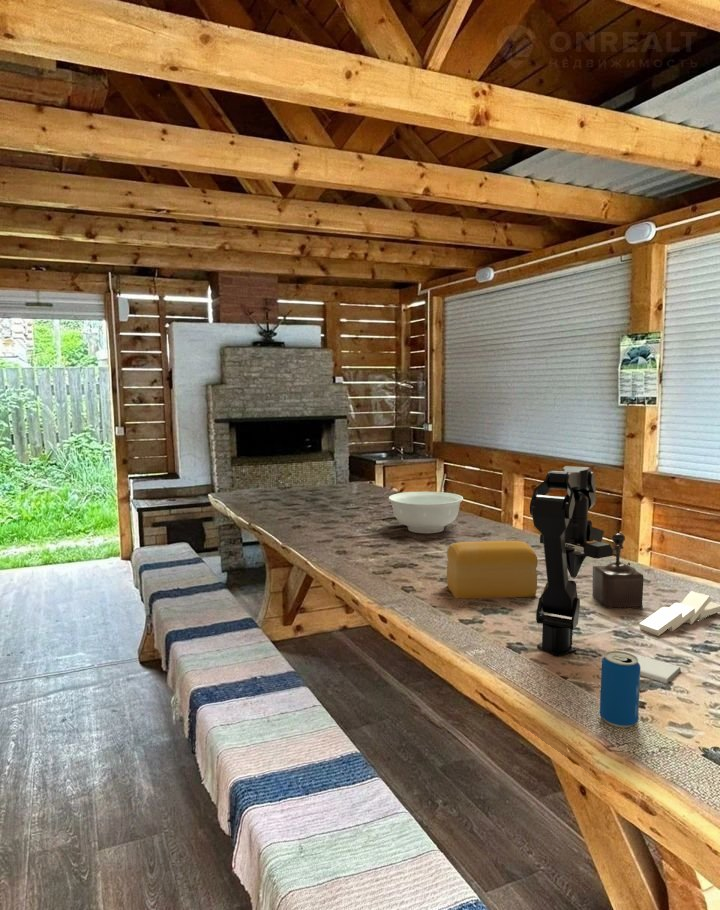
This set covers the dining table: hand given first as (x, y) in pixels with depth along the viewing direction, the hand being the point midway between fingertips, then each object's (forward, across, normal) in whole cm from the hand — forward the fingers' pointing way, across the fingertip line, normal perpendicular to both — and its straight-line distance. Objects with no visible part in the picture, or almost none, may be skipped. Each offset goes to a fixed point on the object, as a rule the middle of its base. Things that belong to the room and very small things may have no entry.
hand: (573, 577), depth 156 cm
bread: (+13, +32, -1) cm, 35 cm away
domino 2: (+12, -12, -19) cm, 26 cm away
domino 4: (+13, -11, -31) cm, 36 cm away
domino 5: (+11, -11, -32) cm, 36 cm away
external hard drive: (+14, -24, +5) cm, 28 cm away
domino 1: (+12, -12, -13) cm, 22 cm away
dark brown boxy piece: (+13, +9, -27) cm, 31 cm away
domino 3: (+12, -12, -27) cm, 32 cm away
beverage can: (+13, -36, +28) cm, 47 cm away
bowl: (+13, +110, -32) cm, 115 cm away
